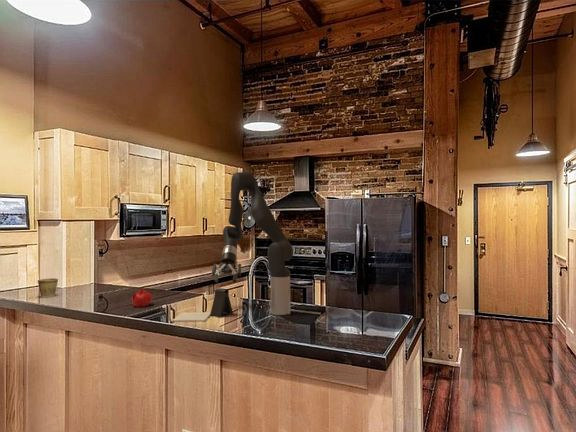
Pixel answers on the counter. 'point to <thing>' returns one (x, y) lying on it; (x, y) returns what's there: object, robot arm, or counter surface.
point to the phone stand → (221, 303)
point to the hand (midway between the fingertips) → (225, 282)
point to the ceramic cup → (47, 287)
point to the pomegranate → (141, 298)
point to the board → (192, 316)
